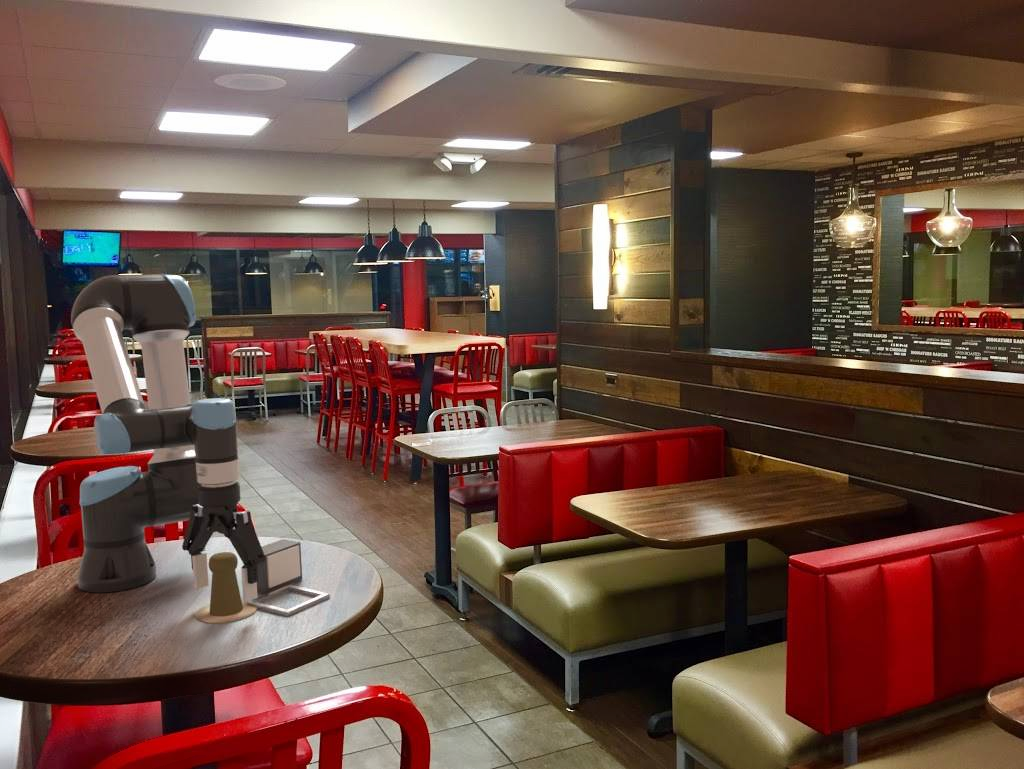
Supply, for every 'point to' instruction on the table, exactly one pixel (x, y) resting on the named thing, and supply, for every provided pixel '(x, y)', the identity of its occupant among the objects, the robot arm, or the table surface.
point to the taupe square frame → (318, 598)
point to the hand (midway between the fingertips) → (225, 593)
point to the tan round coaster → (206, 617)
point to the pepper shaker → (224, 585)
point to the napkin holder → (279, 566)
